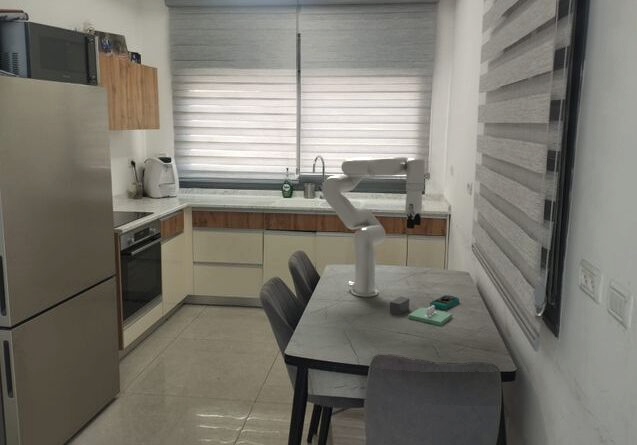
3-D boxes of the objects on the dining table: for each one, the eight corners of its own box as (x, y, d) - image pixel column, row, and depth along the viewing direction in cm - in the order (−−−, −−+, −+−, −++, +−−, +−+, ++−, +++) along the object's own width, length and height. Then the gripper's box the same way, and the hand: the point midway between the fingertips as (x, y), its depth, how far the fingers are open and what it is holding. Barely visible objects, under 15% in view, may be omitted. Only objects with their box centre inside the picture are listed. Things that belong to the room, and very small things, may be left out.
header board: (408, 318, 224) (408, 307, 223) (420, 310, 233) (421, 300, 232) (440, 325, 216) (440, 314, 215) (451, 317, 225) (452, 306, 224)
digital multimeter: (459, 303, 245) (460, 297, 245) (444, 311, 234) (444, 304, 233) (444, 300, 250) (445, 293, 249) (429, 307, 238) (429, 301, 238)
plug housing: (389, 312, 230) (390, 301, 229) (399, 307, 237) (400, 296, 236) (399, 315, 227) (399, 303, 227) (409, 309, 235) (409, 298, 234)
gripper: (412, 185, 243) (410, 223, 246) (400, 188, 227) (399, 229, 230) (428, 185, 239) (427, 224, 242) (417, 189, 224) (416, 230, 227)
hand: (413, 226), depth 236 cm, fingers open, 9 cm apart
